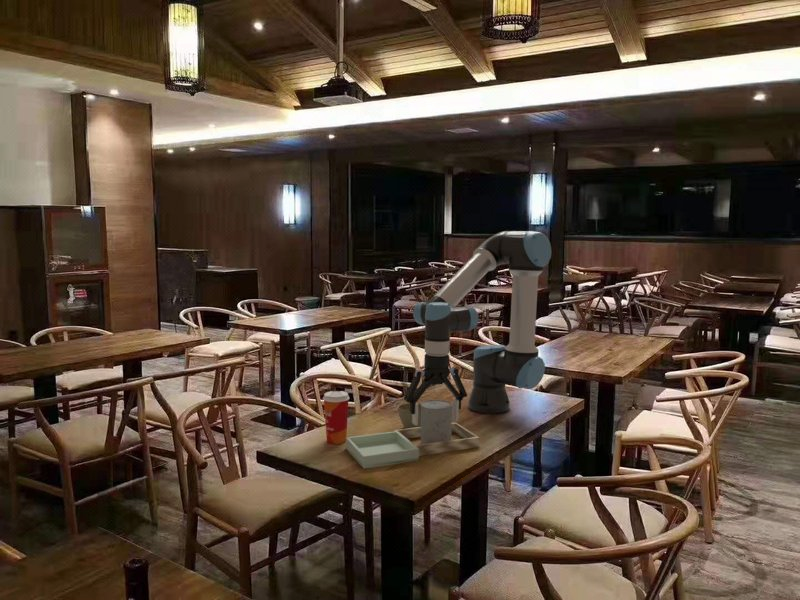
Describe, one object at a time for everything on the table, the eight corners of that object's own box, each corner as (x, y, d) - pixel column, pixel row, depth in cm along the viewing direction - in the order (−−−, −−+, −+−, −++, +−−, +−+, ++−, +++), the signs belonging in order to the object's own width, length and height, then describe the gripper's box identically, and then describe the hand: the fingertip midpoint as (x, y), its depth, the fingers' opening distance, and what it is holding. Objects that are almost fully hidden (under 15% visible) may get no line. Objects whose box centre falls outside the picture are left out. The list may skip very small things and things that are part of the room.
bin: (397, 441, 195) (397, 431, 195) (418, 460, 180) (418, 448, 180) (345, 448, 189) (345, 437, 189) (363, 468, 174) (363, 456, 173)
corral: (455, 431, 206) (456, 422, 205) (479, 447, 191) (479, 437, 191) (394, 439, 198) (394, 430, 197) (413, 456, 183) (413, 446, 183)
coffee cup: (323, 436, 200) (323, 390, 198) (349, 436, 200) (349, 390, 199) (322, 446, 191) (322, 397, 190) (349, 445, 192) (349, 397, 190)
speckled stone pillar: (454, 440, 197) (455, 401, 196) (447, 450, 188) (447, 410, 187) (425, 436, 200) (425, 398, 199) (416, 446, 191) (416, 407, 190)
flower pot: (425, 433, 203) (425, 412, 202) (394, 431, 205) (394, 410, 204) (430, 424, 213) (430, 403, 212) (400, 422, 215) (401, 401, 214)
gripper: (467, 349, 199) (465, 414, 201) (394, 353, 190) (393, 422, 192) (479, 353, 192) (477, 421, 194) (403, 358, 183) (402, 429, 185)
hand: (435, 422), depth 193 cm, fingers open, 13 cm apart
